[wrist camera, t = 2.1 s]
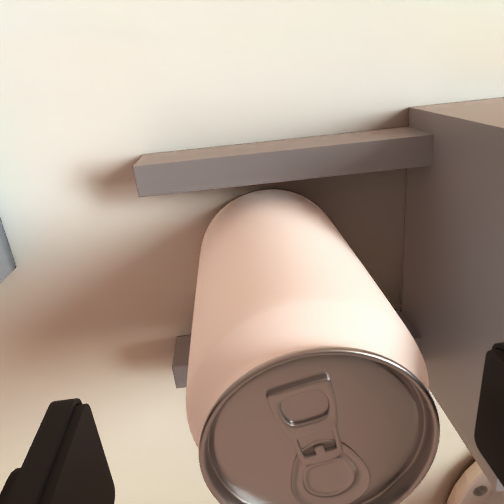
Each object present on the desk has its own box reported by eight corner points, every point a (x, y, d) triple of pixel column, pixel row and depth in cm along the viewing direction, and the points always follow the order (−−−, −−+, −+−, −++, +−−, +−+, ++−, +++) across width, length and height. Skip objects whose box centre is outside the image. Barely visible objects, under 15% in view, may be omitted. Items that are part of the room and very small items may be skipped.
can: (226, 328, 23) (232, 574, 12) (179, 212, 20) (132, 385, 9) (349, 289, 23) (474, 506, 11) (317, 166, 20) (437, 292, 9)
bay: (483, 333, 24) (622, 475, 16) (183, 368, 24) (162, 533, 15) (512, 96, 19) (730, 119, 11) (139, 135, 19) (77, 189, 11)
